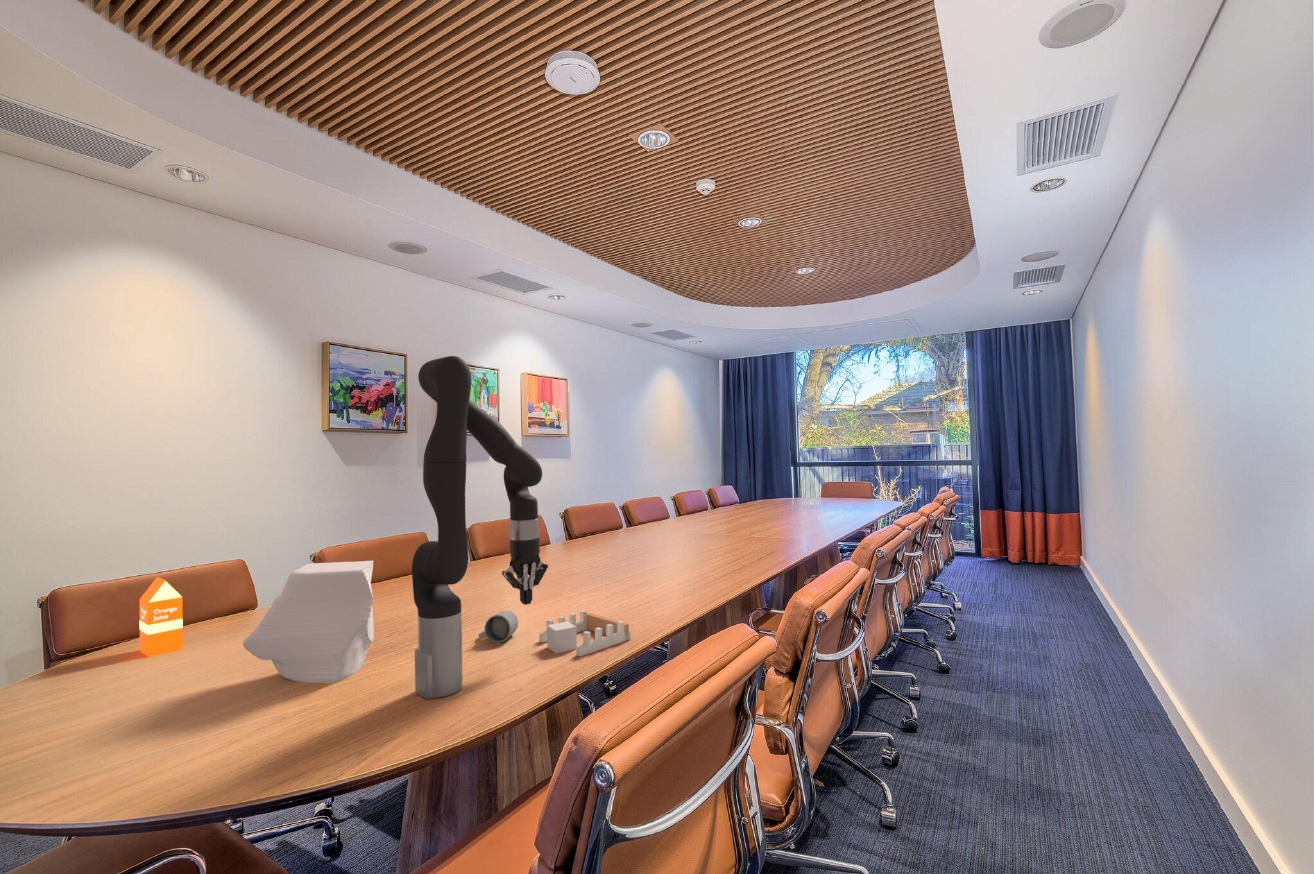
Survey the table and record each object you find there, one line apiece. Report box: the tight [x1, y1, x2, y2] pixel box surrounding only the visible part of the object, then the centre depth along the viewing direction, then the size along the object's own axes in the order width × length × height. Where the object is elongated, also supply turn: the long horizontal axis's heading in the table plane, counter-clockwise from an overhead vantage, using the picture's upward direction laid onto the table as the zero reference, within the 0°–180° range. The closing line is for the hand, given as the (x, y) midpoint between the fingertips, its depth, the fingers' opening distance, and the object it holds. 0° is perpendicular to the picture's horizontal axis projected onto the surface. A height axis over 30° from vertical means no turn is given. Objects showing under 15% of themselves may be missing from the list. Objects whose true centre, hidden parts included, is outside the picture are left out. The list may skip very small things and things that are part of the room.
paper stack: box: [242, 560, 375, 684], centre depth 147 cm, size 21×27×26 cm
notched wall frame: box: [539, 609, 632, 657], centre depth 164 cm, size 18×18×5 cm
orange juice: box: [138, 576, 184, 658], centre depth 164 cm, size 8×9×20 cm
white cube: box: [546, 621, 578, 654], centre depth 158 cm, size 6×6×6 cm
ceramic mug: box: [478, 610, 519, 644], centre depth 168 cm, size 11×8×8 cm
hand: (526, 603), depth 151 cm, fingers closed
